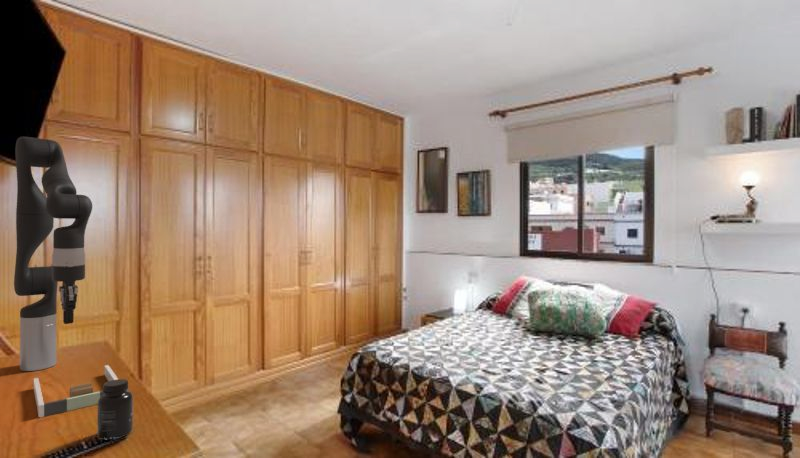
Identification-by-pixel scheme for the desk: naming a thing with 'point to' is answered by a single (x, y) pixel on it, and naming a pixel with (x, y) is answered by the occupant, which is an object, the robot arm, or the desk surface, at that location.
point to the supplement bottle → (115, 410)
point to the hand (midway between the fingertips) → (68, 323)
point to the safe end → (82, 401)
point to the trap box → (61, 405)
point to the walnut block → (81, 389)
